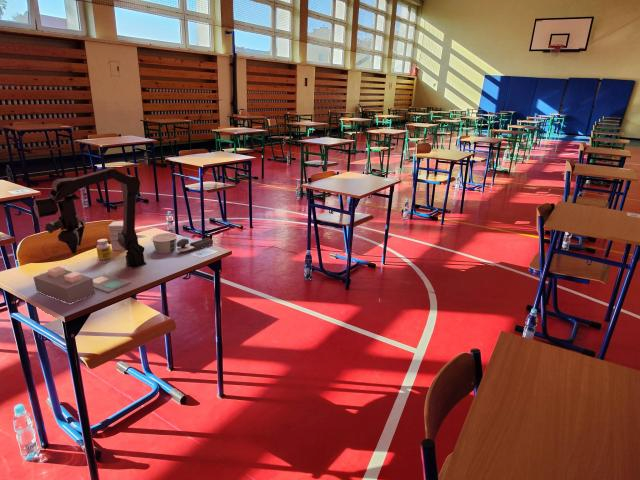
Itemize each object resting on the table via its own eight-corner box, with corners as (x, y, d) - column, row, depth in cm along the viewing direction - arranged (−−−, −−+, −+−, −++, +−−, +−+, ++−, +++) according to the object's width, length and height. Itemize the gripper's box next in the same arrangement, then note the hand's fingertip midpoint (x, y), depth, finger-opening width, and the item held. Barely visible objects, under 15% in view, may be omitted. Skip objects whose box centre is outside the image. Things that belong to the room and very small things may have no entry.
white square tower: (116, 245, 208) (113, 221, 204) (132, 244, 209) (128, 220, 204) (111, 250, 201) (107, 225, 197) (127, 250, 202) (123, 225, 197)
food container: (147, 250, 202) (145, 237, 200) (168, 243, 211) (167, 231, 209) (162, 256, 196) (161, 242, 193) (183, 248, 205) (182, 236, 203)
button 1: (60, 275, 163) (58, 266, 162) (66, 277, 161) (64, 268, 160) (49, 279, 160) (47, 270, 158) (56, 281, 158) (54, 272, 156)
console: (62, 282, 167) (59, 267, 165) (95, 293, 159) (92, 278, 157) (37, 292, 159) (33, 277, 157) (69, 304, 150) (66, 288, 148)
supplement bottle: (103, 263, 186) (100, 243, 183) (96, 261, 189) (92, 240, 185) (114, 259, 191) (111, 239, 187) (107, 257, 193) (103, 237, 190)
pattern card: (104, 274, 175) (104, 273, 175) (130, 283, 168) (130, 281, 168) (81, 284, 166) (81, 282, 166) (108, 293, 160) (108, 291, 159)
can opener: (181, 255, 197) (180, 242, 195) (175, 252, 200) (174, 240, 198) (214, 244, 211) (213, 233, 209) (208, 242, 214) (207, 230, 212)
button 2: (76, 281, 159) (74, 271, 157) (83, 283, 157) (81, 273, 156) (66, 285, 155) (64, 275, 154) (72, 287, 154) (70, 277, 152)
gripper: (50, 207, 167) (59, 243, 172) (37, 221, 150) (47, 261, 156) (81, 204, 170) (89, 240, 176) (72, 218, 153) (81, 257, 159)
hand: (76, 249), depth 166 cm, fingers open, 9 cm apart
